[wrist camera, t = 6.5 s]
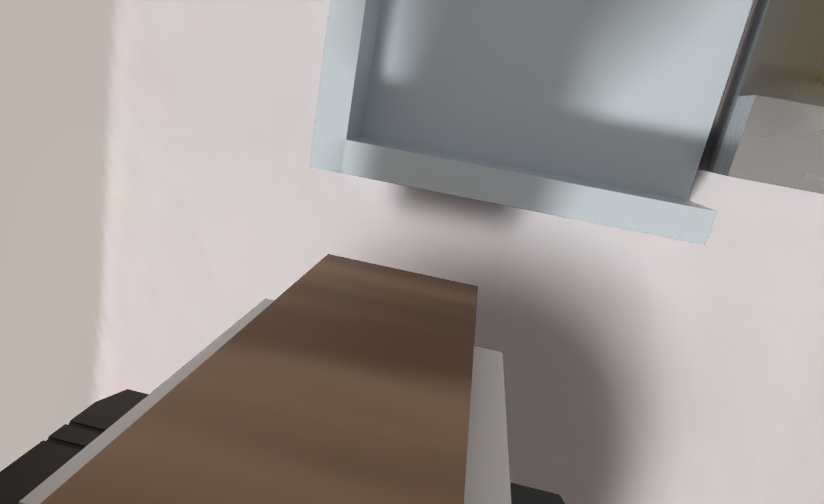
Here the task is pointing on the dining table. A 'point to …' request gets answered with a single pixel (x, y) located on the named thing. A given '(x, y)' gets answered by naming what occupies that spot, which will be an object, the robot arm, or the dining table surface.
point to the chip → (822, 77)
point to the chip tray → (531, 102)
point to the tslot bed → (774, 100)
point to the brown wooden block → (311, 403)
